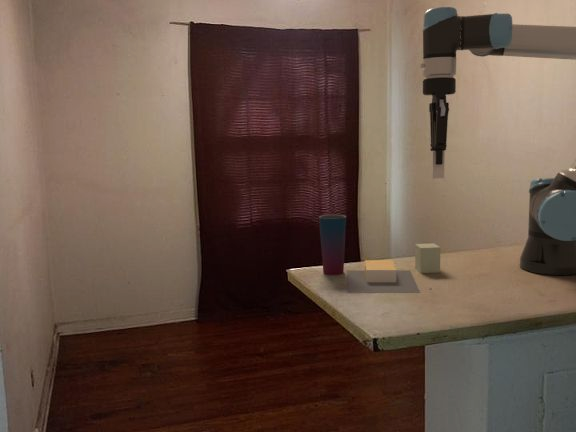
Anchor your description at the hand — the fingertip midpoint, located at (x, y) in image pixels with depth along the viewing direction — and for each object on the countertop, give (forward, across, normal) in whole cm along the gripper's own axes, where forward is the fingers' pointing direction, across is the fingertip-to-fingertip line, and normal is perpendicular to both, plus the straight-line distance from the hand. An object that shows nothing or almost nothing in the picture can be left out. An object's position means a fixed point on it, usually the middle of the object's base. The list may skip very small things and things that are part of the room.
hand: (437, 177), depth 142 cm
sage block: (+25, -4, -2) cm, 25 cm away
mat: (+24, +6, -14) cm, 29 cm away
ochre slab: (+22, +7, -14) cm, 27 cm away
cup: (+25, -2, -25) cm, 35 cm away
